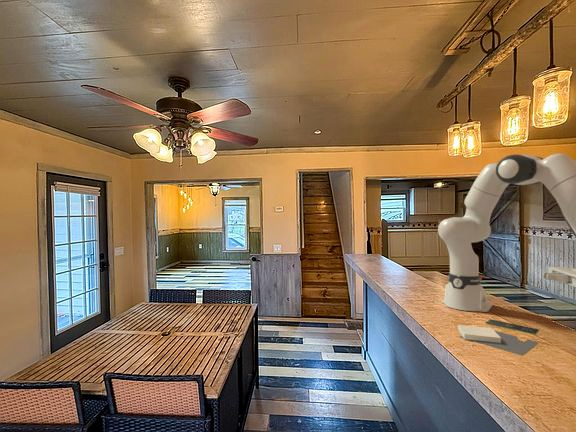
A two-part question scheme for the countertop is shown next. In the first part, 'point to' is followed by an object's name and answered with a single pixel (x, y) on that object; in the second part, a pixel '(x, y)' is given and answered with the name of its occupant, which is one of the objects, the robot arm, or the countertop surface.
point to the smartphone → (512, 326)
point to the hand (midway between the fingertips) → (544, 276)
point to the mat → (511, 344)
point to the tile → (479, 334)
